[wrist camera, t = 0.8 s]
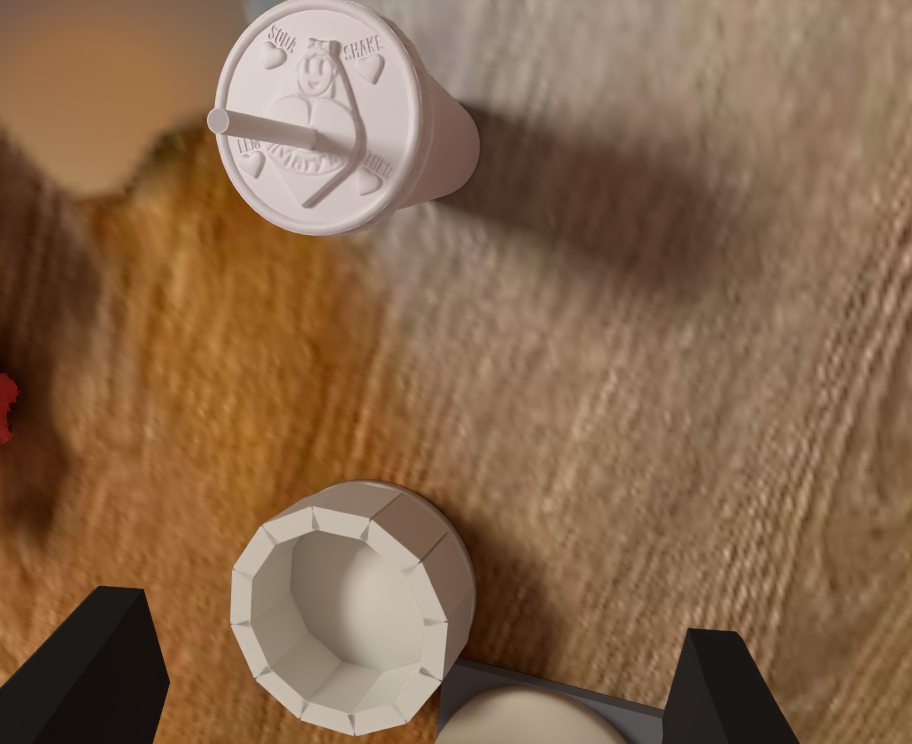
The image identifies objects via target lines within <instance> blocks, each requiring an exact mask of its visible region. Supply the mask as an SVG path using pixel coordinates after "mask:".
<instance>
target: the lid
mask: <svg viewBox="0 0 912 744" xmlns="http://www.w3.org/2000/svg"><path fill="white" fill-rule="evenodd" d="M435 744H628V742H627V741H626V740H625V739H624V737H623V736H622V735H621V734H620V733H619V731H618V730H617V729H616V728H615V727H614V726H613V725H612V724H611V723H610V722H609V721H607V720H606V719H605V718H604V717H603V716H602V715H600V714H599V713H598V712H596V711H595V710H594V709H592V708H591V707H589V706H587V705H586V704H584V703H582V702H581V701H579V700H577V699H574V698H572V697H570V696H568V695H566V694H563V693H560V692H557V691H554V690H551V689H546V688H541V687H536V686H524V685H518V686H505V687H500V688H494V689H491V690H488V691H485V692H482V693H480V694H478V695H476V696H474V697H472V698H471V699H469V700H468V701H466V702H465V703H464V704H462V705H461V706H460V707H459V708H458V709H457V710H456V711H455V712H454V713H453V714H452V715H451V717H450V718H449V719H448V721H447V722H446V724H445V725H444V727H443V729H442V731H441V732H440V734H439V736H438V738H437V740H436V742H435Z"/></svg>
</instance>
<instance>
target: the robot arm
mask: <svg viewBox="0 0 912 744" xmlns="http://www.w3.org/2000/svg"><path fill="white" fill-rule="evenodd" d="M169 684H170V680H169V677H168V673H167V670H166V666H165V663H164V659H163V656H162V652H161V649H160V645H159V642H158V638H157V635H156V631H155V628H154V624H153V620H152V617H151V613H150V610H149V606H148V603H147V599H146V596H145V592H144V589H137V588H123V587H109V586H98V587H97V588H96V589H95V590H93V591H92V592H91V593H90V594H89V595H88V596H87V598H86V599H85V600H84V601H83V602H82V603H81V604H80V605H79V606H78V607H77V608H76V609H75V610H74V611H73V612H72V613H71V614H70V615H69V617H68V618H67V619H66V620H65V621H64V622H63V623H62V624H61V625H60V626H59V627H58V628H57V629H56V630H55V631H54V633H53V634H52V635H51V636H50V637H49V638H48V639H47V640H46V641H45V642H44V643H43V644H42V645H41V646H40V647H39V648H38V649H37V650H36V652H35V653H34V654H33V655H32V656H31V657H30V658H29V659H28V660H27V661H26V662H25V663H24V664H23V665H22V666H21V667H20V668H19V669H18V670H17V671H16V672H15V673H14V674H13V675H12V677H11V678H10V679H9V680H8V681H7V682H6V683H5V684H4V685H3V686H2V687H1V688H0V744H152V743H153V740H154V737H155V734H156V730H157V727H158V724H159V720H160V717H161V713H162V709H163V706H164V702H165V699H166V695H167V692H168V688H169ZM662 729H663V742H664V744H800V743H799V741H798V740H797V738H796V736H795V735H794V733H793V731H792V729H791V728H790V726H789V724H788V722H787V721H786V719H785V717H784V715H783V714H782V712H781V710H780V708H779V707H778V705H777V703H776V701H775V699H774V698H773V696H772V694H771V692H770V690H769V688H768V687H767V685H766V683H765V681H764V679H763V677H762V676H761V674H760V672H759V670H758V668H757V666H756V664H755V662H754V660H753V658H752V657H751V655H750V653H749V651H748V649H747V647H746V645H745V643H744V641H743V639H742V638H741V636H740V635H739V634H738V633H737V632H735V631H721V630H707V629H693V628H688V630H687V634H686V637H685V641H684V644H683V648H682V651H681V655H680V658H679V662H678V665H677V669H676V672H675V676H674V679H673V683H672V686H671V690H670V693H669V697H668V700H667V704H666V707H665V711H664V714H663V718H662Z"/></svg>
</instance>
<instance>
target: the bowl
mask: <svg viewBox="0 0 912 744" xmlns="http://www.w3.org/2000/svg"><path fill="white" fill-rule="evenodd" d="M233 568H234V569H233V570H232V592H231V619H230V623H232V625H231V627H232V629H233V632H234V634H235V636H236V638H237V641H238V643H239V645H240V647H241V650H242V652H243V654H244V656H245V659H246V661H247V663H248V665H249V667H250V670H251V672H252V674H253V676H254V678H255V677H257V679H256V681H257V682H258V683H260V684H261V685H262V686H263V687H264V688H265V689H266V690H267V691H268V692H270V693H271V694H272V695H273V696H274V697H275V698H276V699H277V700H278V701H279V702H281V703H282V704H283V705H284V706H285V707H286V708H287V709H288V710H289V711H290V712H292V713H293V714H294V715H295V716H296V717H297V718H298V719H299V718H300V717H301V720H302V721H305V722H309V723H312V724H315V725H319V726H322V727H325V728H329V729H332V730H335V731H339V732H342V733H345V734H349V735H352V736H354V735H356V736H359V735H363V734H367V733H371V732H375V731H379V730H383V729H387V728H391V727H395V726H399V725H403V724H406V723H407V722H409V721H410V720H411V718H412V717H413V716H414V715H415V714H416V712H417V711H418V710H419V709H420V708H421V706H422V705H423V704H424V703H425V702H426V700H427V699H428V698H429V697H430V696H431V695H432V693H433V692H434V691H435V690H436V689H437V687H438V686H439V685H440V684H441V683H442V681H443V679H444V678H445V676H446V675H447V673H448V672H449V670H450V668H451V667H452V665H453V664H454V662H455V661H456V659H457V657H458V656H459V654H460V653H461V651H462V650H463V648H464V646H465V645H466V643H467V641H468V637H469V632H470V630H471V627H472V624H473V621H474V618H475V612H476V606H477V585H476V577H475V573H474V568H473V564H472V561H471V559H470V556H469V553H468V551H467V549H466V547H465V545H464V543H463V541H462V539H461V537H460V536H459V534H458V533H457V531H456V530H455V528H454V527H453V525H452V524H451V523H450V522H449V521H448V519H447V518H446V517H445V516H444V515H443V514H442V513H441V512H440V511H439V510H438V509H437V508H436V507H435V506H434V505H432V504H431V503H430V502H428V501H427V500H426V499H424V498H423V497H421V496H420V495H418V494H416V493H414V492H413V491H411V490H409V489H407V488H404V487H402V486H399V485H397V484H393V483H390V482H386V481H381V480H373V479H356V480H349V481H344V482H340V483H337V484H334V485H332V486H329V487H327V488H325V489H323V490H322V491H320V492H318V493H316V494H314V495H311V496H309V497H306V498H303V499H302V500H300V501H298V502H297V503H295V504H294V505H292V506H291V507H289V508H288V509H286V510H284V511H283V512H281V513H280V514H278V515H277V516H275V517H273V518H272V519H270V520H269V521H267V522H266V523H264V524H263V525H261V526H260V528H259V529H258V531H257V532H256V534H255V535H254V537H253V538H252V540H251V541H250V543H249V544H248V546H247V547H246V549H245V550H244V552H243V553H242V555H241V556H240V558H239V559H238V561H237V562H236V564H235V565H234V567H233Z"/></svg>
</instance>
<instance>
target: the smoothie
mask: <svg viewBox="0 0 912 744" xmlns="http://www.w3.org/2000/svg"><path fill="white" fill-rule="evenodd" d="M207 122H208V126H209V128H210V130H211V131H212V132H214V133H216V139H217V144H218V148H219V152H220V155H221V159H222V162H223V164H224V167H225V169H226V171H227V173H228V176H229V178H230V180H231V181H232V183H233V185H234V186H235V188H236V189H237V191H238V192H239V193H240V195H241V196H242V198H243V199H244V200H245V201H246V202H247V203H248V204H249V205H250V206H251V207H252V208H253V209H254V210H255V211H256V212H257V213H258V214H260V215H261V216H262V217H264V218H265V219H267V220H268V221H270V222H272V223H273V224H275V225H277V226H279V227H281V228H284V229H286V230H289V231H292V232H296V233H300V234H307V235H314V236H338V237H342V236H346V235H350V234H353V233H357V232H361V231H365V230H368V229H370V228H371V227H373V226H375V225H376V224H378V223H380V222H381V221H383V220H385V219H386V218H388V217H390V216H391V215H392V214H393V213H394V212H395V211H396V210H399V209H403V208H406V207H409V206H413V205H416V204H419V203H423V202H426V201H429V200H432V199H436V198H439V197H442V196H446V195H449V194H451V193H453V192H455V191H457V190H458V189H459V188H461V187H462V186H463V185H464V184H465V183H466V182H467V181H468V180H469V178H470V177H471V175H472V174H473V172H474V170H475V168H476V165H477V163H478V159H479V154H480V138H479V133H478V130H477V127H476V124H475V122H474V120H473V119H472V117H471V116H470V114H469V113H468V112H467V111H466V110H465V109H464V108H463V107H462V106H461V105H460V104H459V103H458V102H457V101H456V100H455V99H454V98H453V97H452V96H451V95H450V94H449V93H448V92H447V91H446V90H445V89H444V88H443V87H442V86H441V85H440V84H439V83H438V82H437V81H436V80H435V79H434V78H433V77H432V76H431V75H430V74H429V73H428V72H427V70H426V68H425V66H424V64H423V62H422V60H421V58H420V56H419V54H418V52H417V50H416V48H415V46H414V44H413V43H412V42H411V41H410V40H409V39H408V38H407V36H406V35H405V34H404V33H403V32H402V31H401V30H400V29H399V28H398V27H397V25H396V24H395V23H394V22H393V21H391V20H389V19H388V18H386V17H384V16H383V15H381V14H380V13H378V12H376V11H375V10H373V9H371V8H370V7H368V6H364V5H360V4H357V3H355V2H352V1H350V0H288V1H285V2H283V3H281V4H279V5H277V6H275V7H273V8H271V9H270V10H268V11H267V12H265V13H264V14H262V15H261V16H260V17H258V18H257V19H256V20H255V21H254V22H253V23H252V24H251V25H250V26H249V27H248V28H247V29H246V30H245V31H244V32H243V34H242V35H241V36H240V38H239V39H238V40H237V42H236V43H235V45H234V47H233V49H232V50H231V52H230V54H229V56H228V58H227V60H226V62H225V65H224V67H223V70H222V73H221V76H220V80H219V83H218V88H217V93H216V100H215V109H213V110H212V111H211V112H210V113H209V115H208V119H207Z"/></svg>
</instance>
